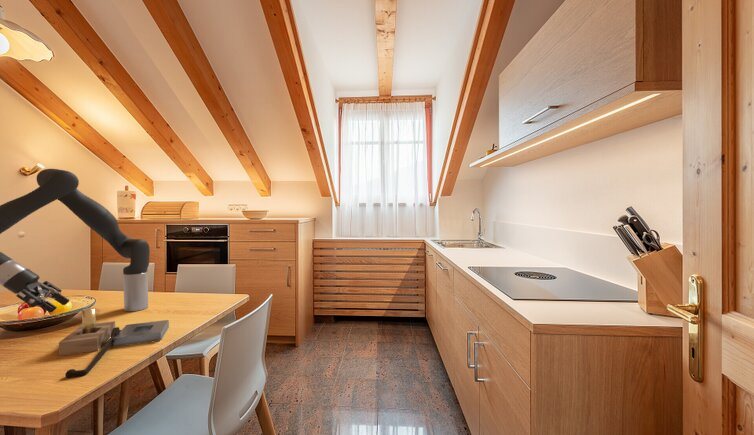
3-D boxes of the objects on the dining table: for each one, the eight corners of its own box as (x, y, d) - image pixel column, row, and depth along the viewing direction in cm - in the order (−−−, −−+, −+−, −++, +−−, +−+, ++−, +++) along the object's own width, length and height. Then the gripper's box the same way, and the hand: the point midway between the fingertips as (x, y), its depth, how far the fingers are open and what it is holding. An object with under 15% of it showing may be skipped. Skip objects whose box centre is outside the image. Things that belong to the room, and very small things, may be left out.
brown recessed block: (82, 336, 121) (82, 324, 121) (115, 332, 125) (115, 321, 125) (59, 356, 106) (58, 342, 106) (97, 350, 110) (97, 337, 109)
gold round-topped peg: (85, 335, 116) (84, 308, 116) (97, 334, 118) (97, 307, 117) (80, 339, 113) (79, 311, 113) (93, 338, 114) (92, 310, 114)
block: (126, 332, 125) (126, 324, 125) (168, 327, 131) (168, 319, 131) (113, 347, 113) (113, 338, 112) (161, 340, 118) (160, 332, 118)
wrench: (63, 385, 92) (106, 337, 120) (86, 383, 94) (123, 336, 122) (63, 368, 92) (106, 324, 119) (86, 366, 94) (123, 323, 121)
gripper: (11, 272, 102) (59, 304, 106) (37, 264, 115) (79, 293, 120) (-12, 290, 100) (39, 322, 105) (18, 280, 113) (61, 308, 118)
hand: (60, 306), depth 112 cm, fingers open, 8 cm apart
